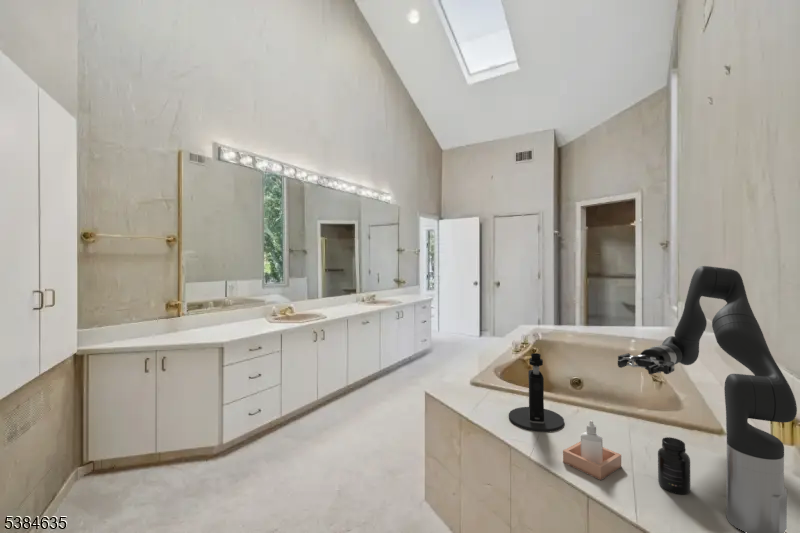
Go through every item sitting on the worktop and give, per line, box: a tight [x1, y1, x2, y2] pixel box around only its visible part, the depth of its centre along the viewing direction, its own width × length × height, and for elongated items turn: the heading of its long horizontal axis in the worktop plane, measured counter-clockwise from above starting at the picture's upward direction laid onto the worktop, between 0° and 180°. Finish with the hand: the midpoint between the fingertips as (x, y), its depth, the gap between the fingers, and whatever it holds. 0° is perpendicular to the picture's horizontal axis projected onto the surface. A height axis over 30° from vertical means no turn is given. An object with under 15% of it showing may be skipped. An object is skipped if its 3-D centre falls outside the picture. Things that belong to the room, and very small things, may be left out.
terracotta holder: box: [562, 440, 622, 481], centre depth 110 cm, size 11×11×4 cm
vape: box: [508, 352, 565, 433], centre depth 139 cm, size 19×19×25 cm
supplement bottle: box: [657, 436, 692, 495], centre depth 98 cm, size 7×7×12 cm
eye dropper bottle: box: [580, 420, 604, 464], centre depth 110 cm, size 4×6×12 cm
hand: (634, 367), depth 115 cm, fingers open, 8 cm apart
